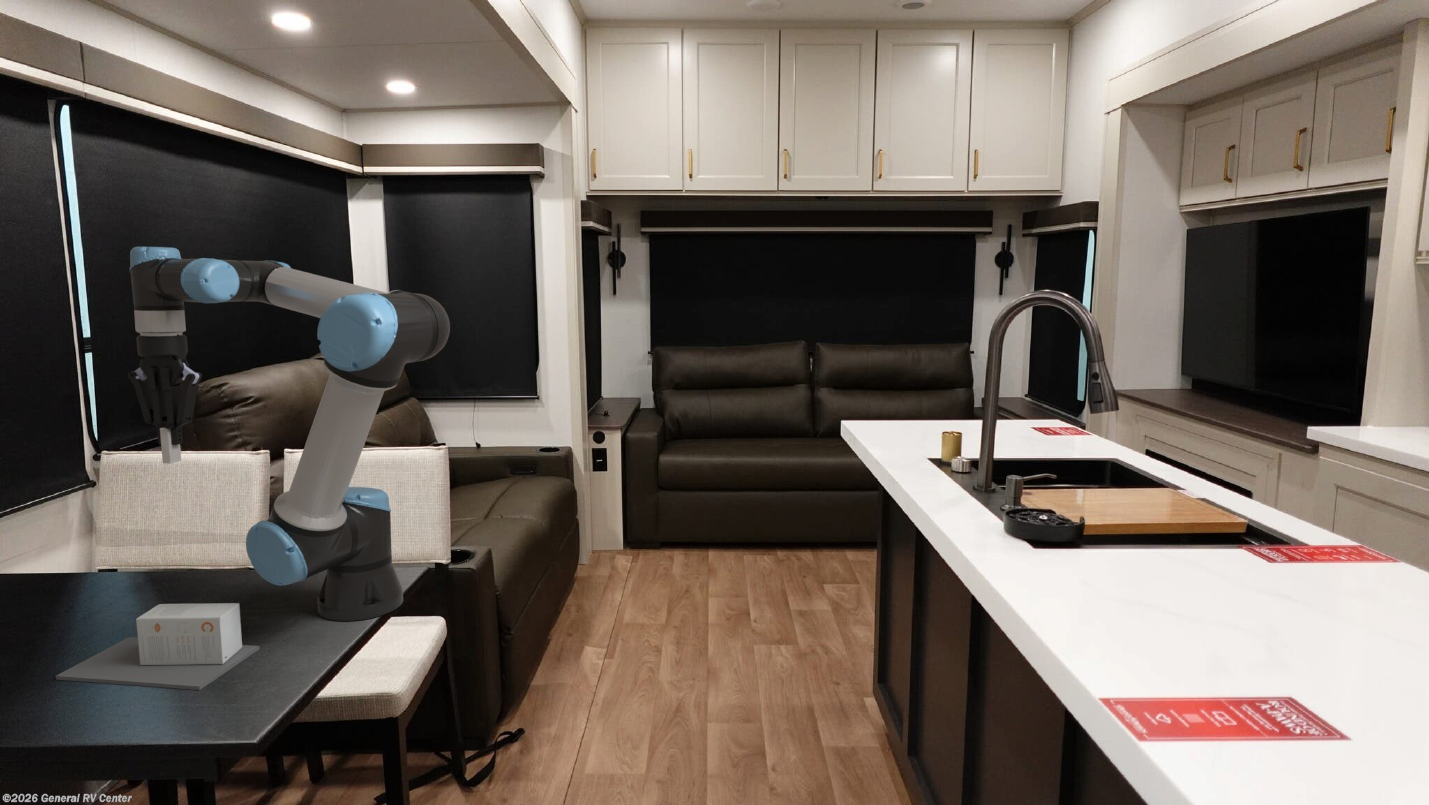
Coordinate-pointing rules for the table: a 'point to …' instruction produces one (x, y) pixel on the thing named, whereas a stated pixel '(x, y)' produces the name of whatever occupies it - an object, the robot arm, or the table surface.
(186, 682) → the mat
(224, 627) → the small box
